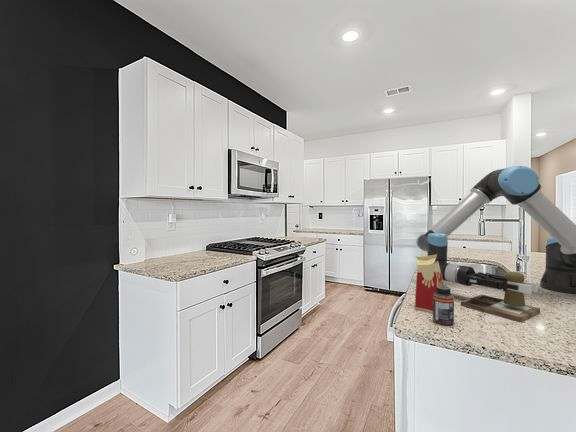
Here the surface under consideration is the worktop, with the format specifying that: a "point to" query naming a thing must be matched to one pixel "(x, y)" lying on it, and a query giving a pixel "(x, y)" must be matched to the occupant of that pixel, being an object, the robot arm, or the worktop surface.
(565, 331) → the worktop surface
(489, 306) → the board
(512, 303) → the cork
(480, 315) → the worktop surface
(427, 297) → the milk carton
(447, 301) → the supplement bottle
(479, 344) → the worktop surface
